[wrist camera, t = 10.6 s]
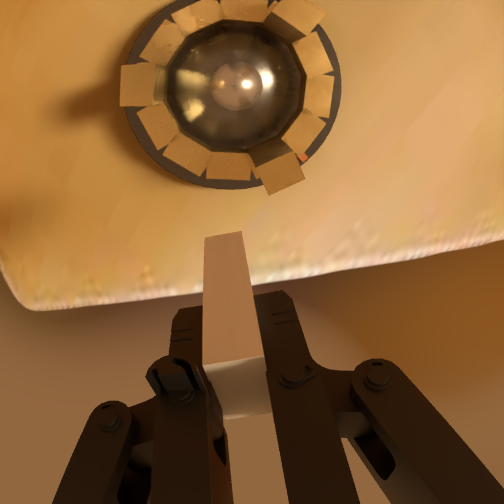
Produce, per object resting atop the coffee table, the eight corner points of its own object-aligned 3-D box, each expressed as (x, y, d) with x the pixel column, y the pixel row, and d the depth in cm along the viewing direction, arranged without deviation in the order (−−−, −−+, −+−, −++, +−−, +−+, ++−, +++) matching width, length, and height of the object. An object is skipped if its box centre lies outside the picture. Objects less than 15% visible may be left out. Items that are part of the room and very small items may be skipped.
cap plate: (93, 60, 24) (68, 58, 19) (275, -38, 21) (288, -60, 16) (196, 217, 34) (193, 244, 29) (363, 129, 31) (390, 140, 26)
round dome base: (193, 202, 31) (189, 233, 25) (110, 54, 23) (83, 49, 17) (349, 131, 29) (381, 146, 23) (280, -23, 20) (298, -48, 15)
